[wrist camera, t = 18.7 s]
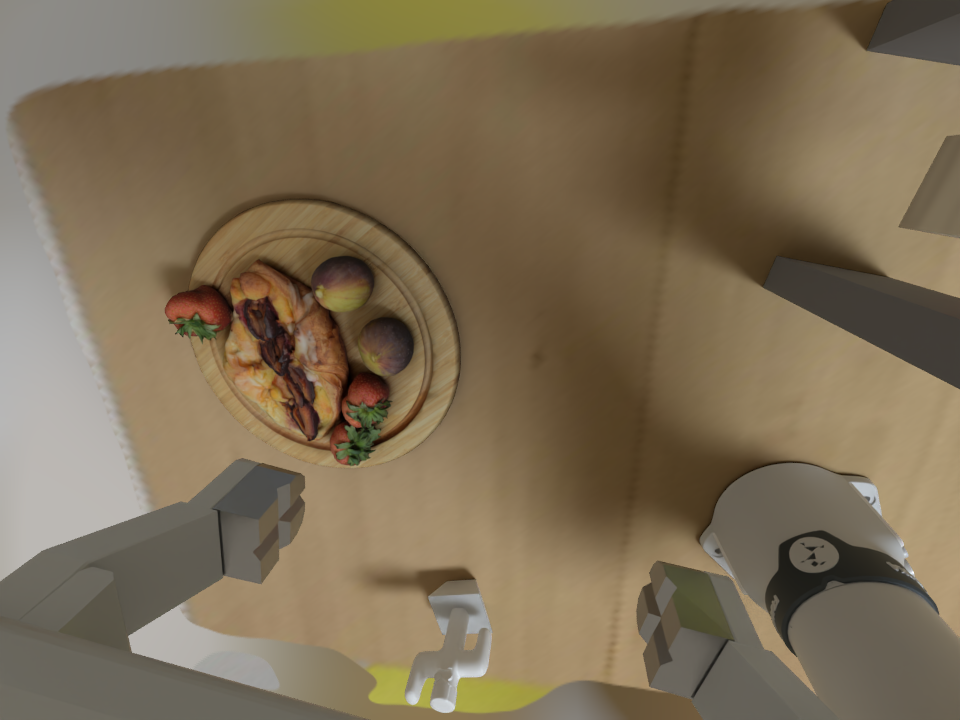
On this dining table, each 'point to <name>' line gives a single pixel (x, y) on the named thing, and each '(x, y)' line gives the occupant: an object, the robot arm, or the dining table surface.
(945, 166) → the maple bar
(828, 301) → the grey arch
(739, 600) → the robot arm
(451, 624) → the figurine
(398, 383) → the wooden plate with food
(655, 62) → the dining table surface
